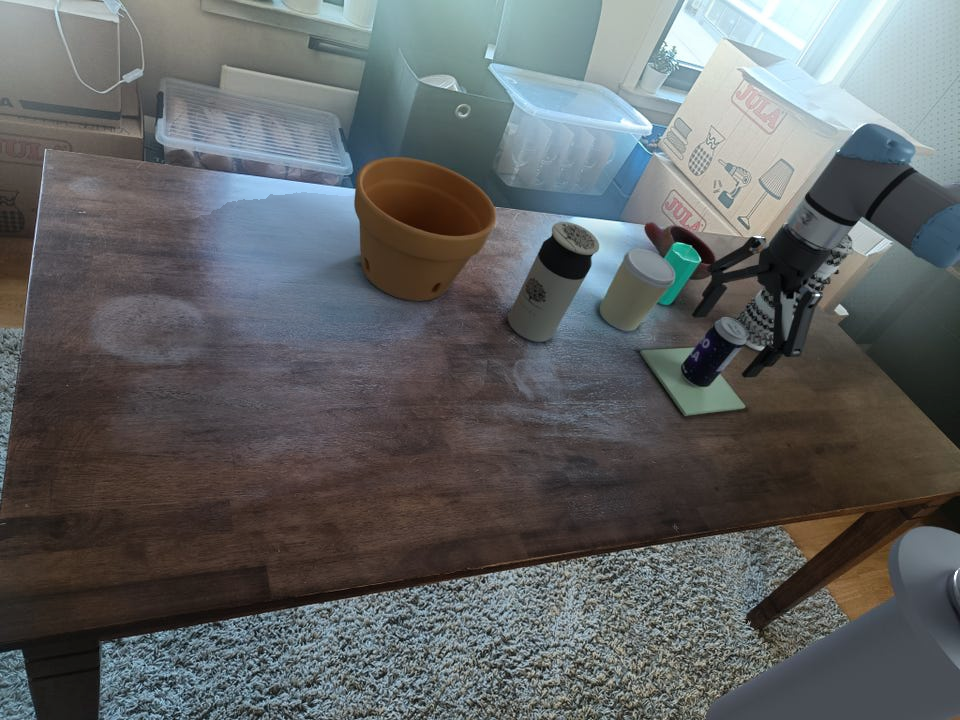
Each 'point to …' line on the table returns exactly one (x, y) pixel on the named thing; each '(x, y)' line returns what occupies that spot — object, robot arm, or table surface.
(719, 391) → the mat
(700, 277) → the bowl
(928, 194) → the robot arm
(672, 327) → the table surface
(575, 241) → the travel mug
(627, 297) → the cream lidded canister
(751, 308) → the decorative candle
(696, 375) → the beverage can
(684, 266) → the candle
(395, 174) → the flower pot
